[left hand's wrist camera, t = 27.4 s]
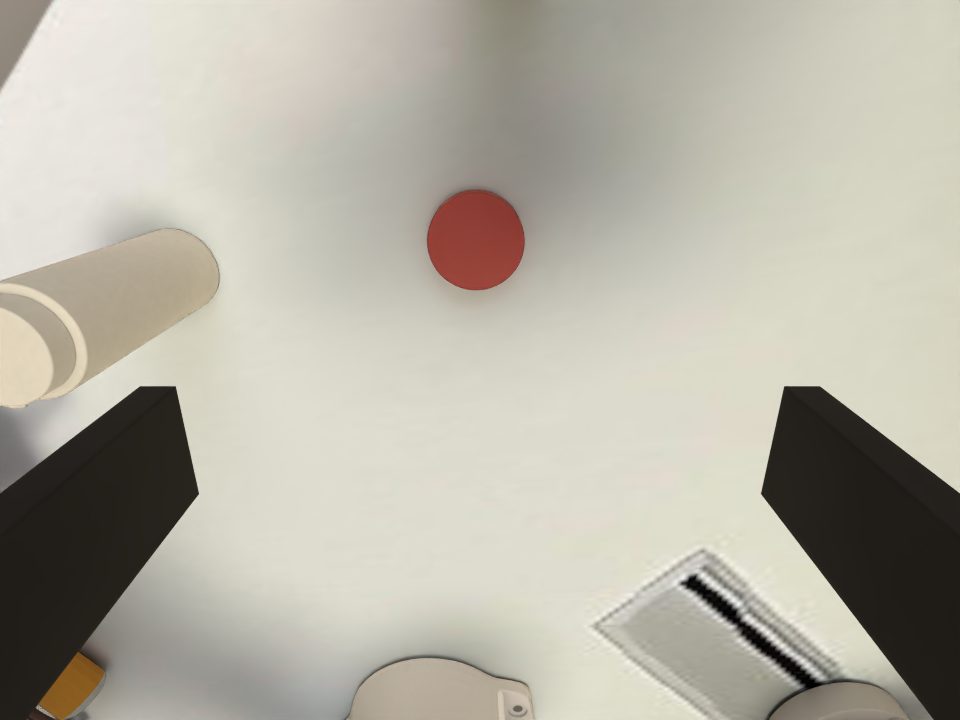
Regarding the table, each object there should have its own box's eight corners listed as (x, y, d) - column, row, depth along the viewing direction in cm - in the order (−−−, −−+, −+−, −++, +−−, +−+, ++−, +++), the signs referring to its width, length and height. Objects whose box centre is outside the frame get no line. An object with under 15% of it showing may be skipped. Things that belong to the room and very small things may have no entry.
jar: (125, 231, 37) (-99, 296, 23) (208, 226, 37) (37, 289, 22) (148, 312, 39) (-44, 419, 25) (227, 307, 39) (81, 413, 24)
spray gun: (86, 754, 56) (-69, 690, 54) (140, 656, 50) (-33, 578, 47) (54, 802, 52) (-115, 736, 50) (107, 703, 46) (-83, 621, 43)
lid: (464, 300, 38) (463, 307, 37) (411, 225, 37) (407, 229, 35) (540, 250, 37) (542, 256, 36) (488, 169, 35) (489, 172, 34)
